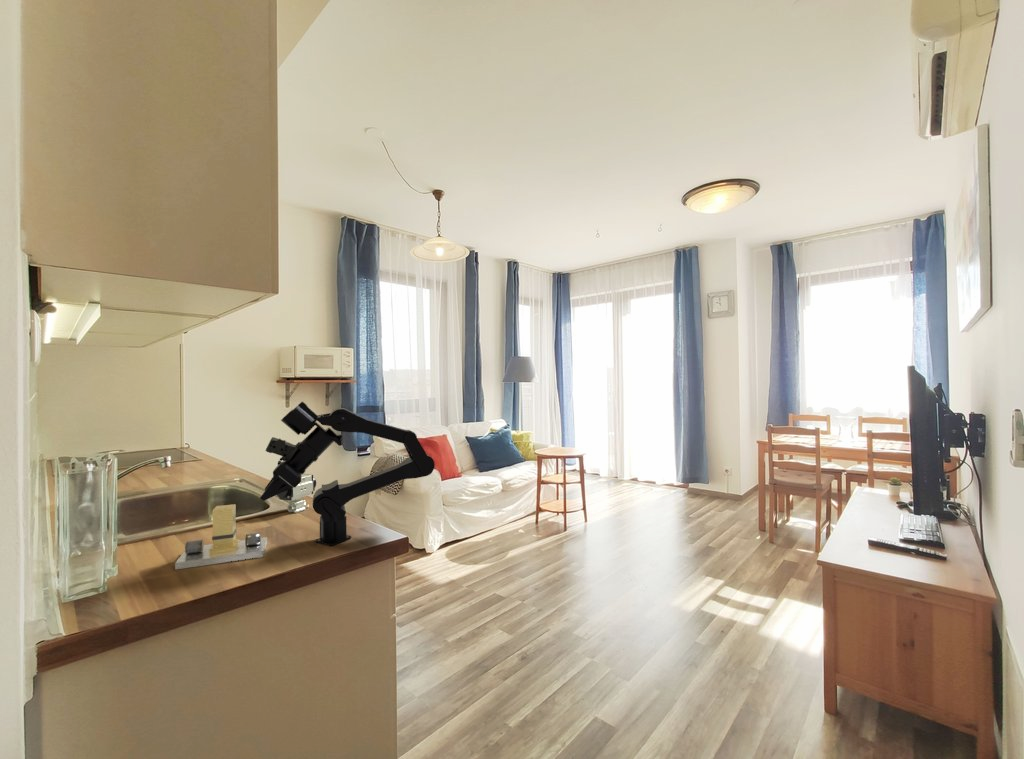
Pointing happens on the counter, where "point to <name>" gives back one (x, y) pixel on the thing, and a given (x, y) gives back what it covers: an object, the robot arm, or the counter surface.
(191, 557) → the plate
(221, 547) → the yellow banded block
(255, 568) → the counter surface
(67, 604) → the counter surface
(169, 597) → the counter surface
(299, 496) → the pneumatic valve
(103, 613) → the counter surface
